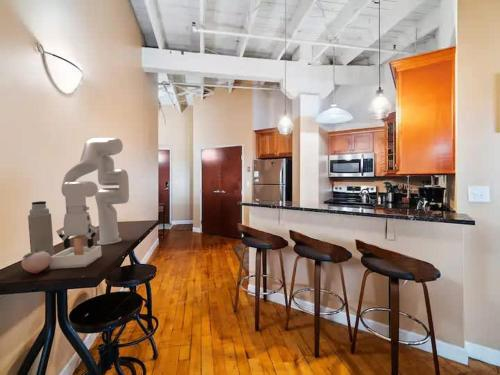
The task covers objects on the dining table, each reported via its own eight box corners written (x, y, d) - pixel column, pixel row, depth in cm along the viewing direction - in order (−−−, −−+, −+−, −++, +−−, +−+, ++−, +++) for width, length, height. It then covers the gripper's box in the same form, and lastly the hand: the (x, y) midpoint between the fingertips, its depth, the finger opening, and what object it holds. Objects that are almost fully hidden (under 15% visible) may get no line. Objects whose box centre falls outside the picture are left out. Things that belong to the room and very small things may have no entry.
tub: (70, 258, 125) (69, 247, 125) (101, 256, 126) (100, 245, 126) (50, 269, 110) (49, 257, 110) (85, 266, 111) (84, 255, 111)
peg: (77, 258, 120) (76, 237, 119) (85, 258, 120) (84, 236, 120) (73, 261, 116) (71, 239, 116) (81, 260, 117) (80, 238, 116)
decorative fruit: (36, 278, 100) (34, 252, 100) (18, 277, 102) (15, 252, 101) (57, 269, 109) (56, 245, 109) (41, 268, 111) (39, 245, 110)
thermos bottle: (28, 268, 111) (23, 203, 110) (35, 263, 119) (30, 201, 117) (51, 265, 114) (46, 201, 113) (56, 260, 122) (52, 200, 120)
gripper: (100, 208, 122) (103, 244, 123) (60, 209, 120) (63, 246, 121) (92, 210, 114) (95, 249, 115) (50, 212, 113) (53, 251, 114)
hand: (79, 247), depth 118 cm, fingers open, 9 cm apart
